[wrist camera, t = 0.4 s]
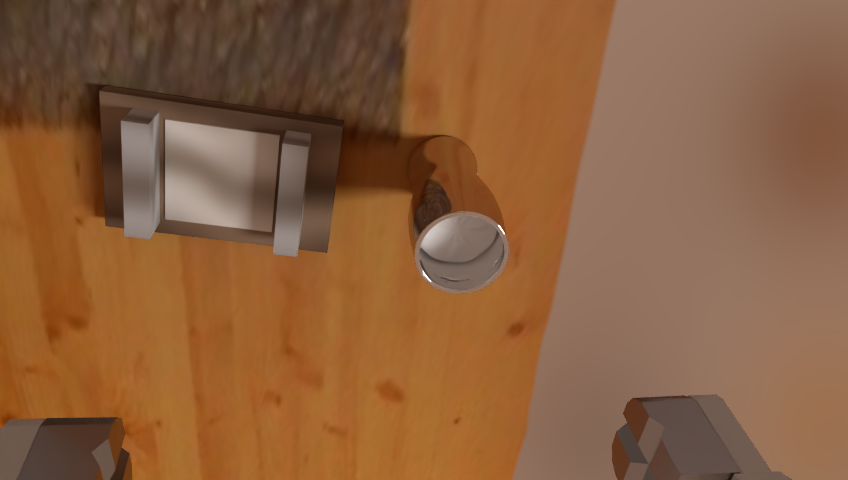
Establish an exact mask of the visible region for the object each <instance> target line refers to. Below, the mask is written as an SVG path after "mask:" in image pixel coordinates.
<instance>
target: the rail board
mask: <svg viewBox="0 0 848 480" xmlns="http://www.w3.org/2000/svg"><path fill="white" fill-rule="evenodd" d="M99 98H100V119H101V140H102V161H103V182H104V204H105V225H106V226H109V227H118V228H124V234H125V236H126V237H135V238H143V239H150V238H151V237H152V235H153V233H154V232H159V233H168V234H176V235H184V236H192V237H201V238H209V239H217V240H226V241H234V242H242V243H251V244H259V245H267V246H274V248H273V254H278V255H286V256H295V257H297V253H298V249H301V250H309V251H317V252H325V253H327V249H328V242H329V234H330V226H331V218H332V211H333V203H334V195H335V187H336V180H337V172H338V164H339V156H340V149H341V141H342V133H343V125H344V121H342V120H336V119H329V118H322V117H315V116H309V115H302V114H295V113H289V112H282V111H275V110H268V109H262V108H255V107H248V106H241V105H235V104H228V103H221V102H214V101H208V100H201V99H194V98H188V97H181V96H174V95H167V94H161V93H154V92H147V91H140V90H134V89H127V88H120V87H114V86H107V85H106V86H104V87H103V88H102V89H101V90H100V91H99Z"/></svg>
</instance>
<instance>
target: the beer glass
mask: <svg viewBox="0 0 848 480" xmlns="http://www.w3.org/2000/svg"><path fill="white" fill-rule="evenodd" d="M408 176H409V179H410V182H411V184H412V186H413V188H414V192H413V195H412V199H411V202H410V208H409V215H408V228H409V236H410V242H411V247H412V251H413V254H414V258H415V264H416V267H417V270H418V272H419V273H420V275H421V276H422V278H423V279H424V280H425V281H426V282H427V283H428V284H430V285H431V286H433V287H434V288H436V289H438V290H441V291H443V292H447V293H453V294H464V293H471V292H474V291H477V290H480V289H482V288H484V287H486V286H488V285H489V284H491V283H492V282H493V281H495V280H496V279H497V278H498V277H499V275H500V274H501V273H502V271H503V270H504V268H505V266H506V264H507V261H508V257H509V242H508V239H507V235H506V230H505V225H504V220H503V217H502V214H501V210H500V208H499V206H498V203H497V201H496V199H495V197H494V195H493V194H492V192H491V191H490V190H489V188H488V187H487V185H486V184H485V183H484V182H483V181H482V180H481V179H480V178H479V176H478V175H477V161H476V158H475V155H474V153H473V151H472V150H471V149H470V147H469V146H468V145H466V144H465V143H464V142H462V141H461V140H459V139H457V138H454V137H449V136H438V137H434V138H431V139H428V140H426V141H424V142H423V143H421V144H420V145H419V146H418V147H417V148H416V149H415V150H414V152H413V153H412V155H411V157H410V160H409V164H408Z"/></svg>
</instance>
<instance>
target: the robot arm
mask: <svg viewBox="0 0 848 480" xmlns="http://www.w3.org/2000/svg"><path fill="white" fill-rule="evenodd" d="M623 414H624V416H625V418H626V421H627V424H625V425H624V426H623V427H622V428H620V429H619V430H618V431H617V432H616V434H615V438H614V441H613V444H612V462H613V466H614V470H615V474H616V477H617V479H618V480H792V479H790V478H789V477H787V476H786V475H784V474H783V473H781V472H772V471H771V470H770V468H769V467H768V465H767V464H766V462H765V461H764V459H763V458H762V456H761V455H760V453H759V452H758V450H757V449H756V448H755V446H754V444H753V443H752V442H751V440H750V439H749V437H748V436H747V434H746V433H745V431H744V430H743V428H742V427H741V425H740V424H739V422H738V421H737V419H736V418H735V417H734V415H733V413H732V412H731V410H730V409H729V407H728V406H727V404H726V403H725V401H724V400H723V399H722V398H721V397H719V396H718V395H716V394H715V395H690V396H684V395H682V396H662V397H641V398H633V399H631V400H630V401H629V402H628V403H627V405H626V407H625V410H624V412H623ZM124 436H125V430H124V426H123V422H122V419H121V418H118V417H103V418H47V419H10V420H9V421H8V422H7V423H6V424H5V425H4V426H3V427H2V428H1V429H0V480H132V463H131V458H130V453H129V452H127V451H126V450H124V449H123V448H122V444H123V440H124Z"/></svg>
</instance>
